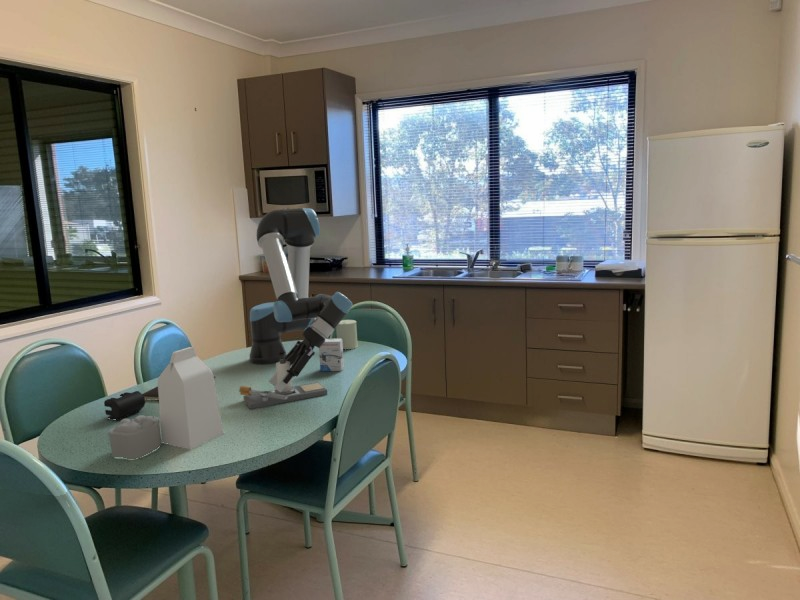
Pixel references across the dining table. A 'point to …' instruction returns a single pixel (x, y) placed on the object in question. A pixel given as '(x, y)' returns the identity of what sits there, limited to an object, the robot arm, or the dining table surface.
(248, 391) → the clip
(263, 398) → the grey slotted tray
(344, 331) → the cream tapered cylinder
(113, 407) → the end cap
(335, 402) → the dining table surface
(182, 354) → the milk
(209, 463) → the dining table surface
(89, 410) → the dining table surface
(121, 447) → the lumpy-topped squat cylinder
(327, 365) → the ink box
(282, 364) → the plug
